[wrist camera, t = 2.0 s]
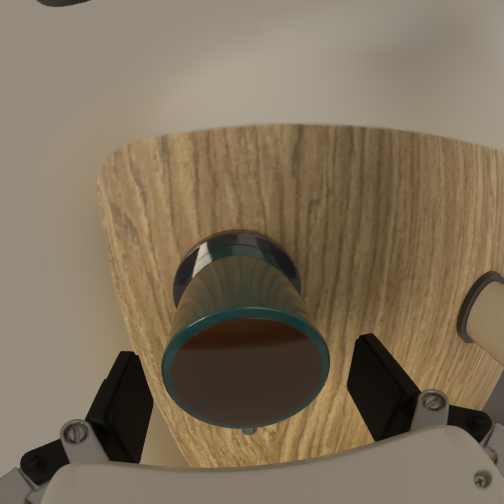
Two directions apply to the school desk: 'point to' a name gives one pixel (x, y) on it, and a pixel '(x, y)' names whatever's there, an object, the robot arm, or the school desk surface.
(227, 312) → the cup front
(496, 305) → the cup back
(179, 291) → the saucer front
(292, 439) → the school desk surface
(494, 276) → the dark grey round coaster
